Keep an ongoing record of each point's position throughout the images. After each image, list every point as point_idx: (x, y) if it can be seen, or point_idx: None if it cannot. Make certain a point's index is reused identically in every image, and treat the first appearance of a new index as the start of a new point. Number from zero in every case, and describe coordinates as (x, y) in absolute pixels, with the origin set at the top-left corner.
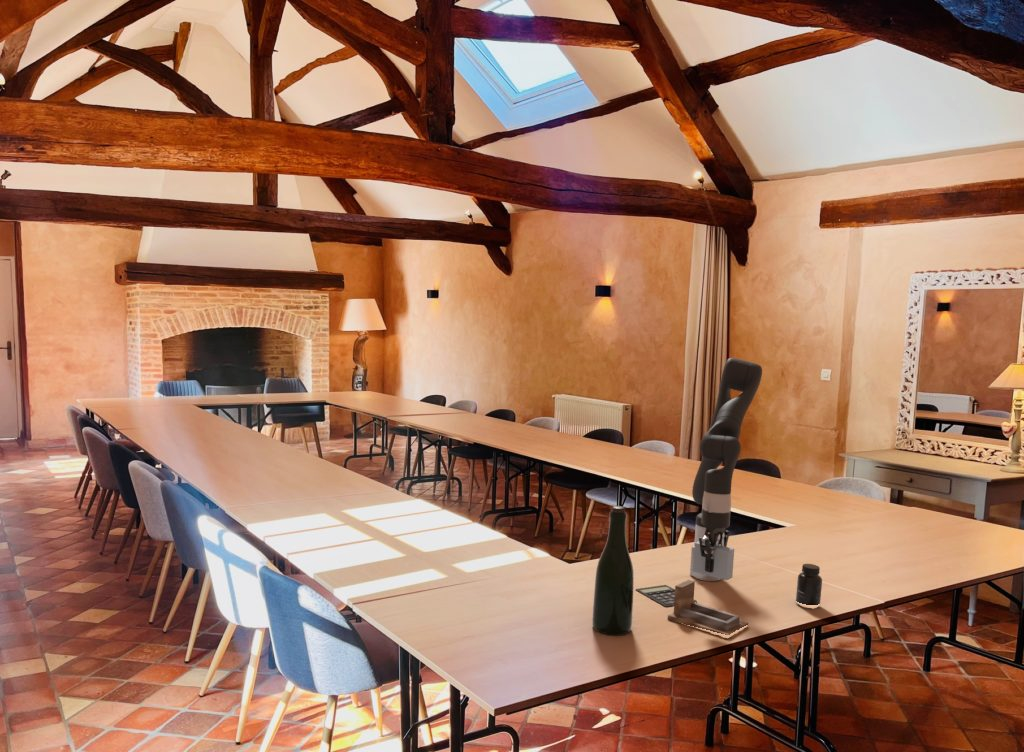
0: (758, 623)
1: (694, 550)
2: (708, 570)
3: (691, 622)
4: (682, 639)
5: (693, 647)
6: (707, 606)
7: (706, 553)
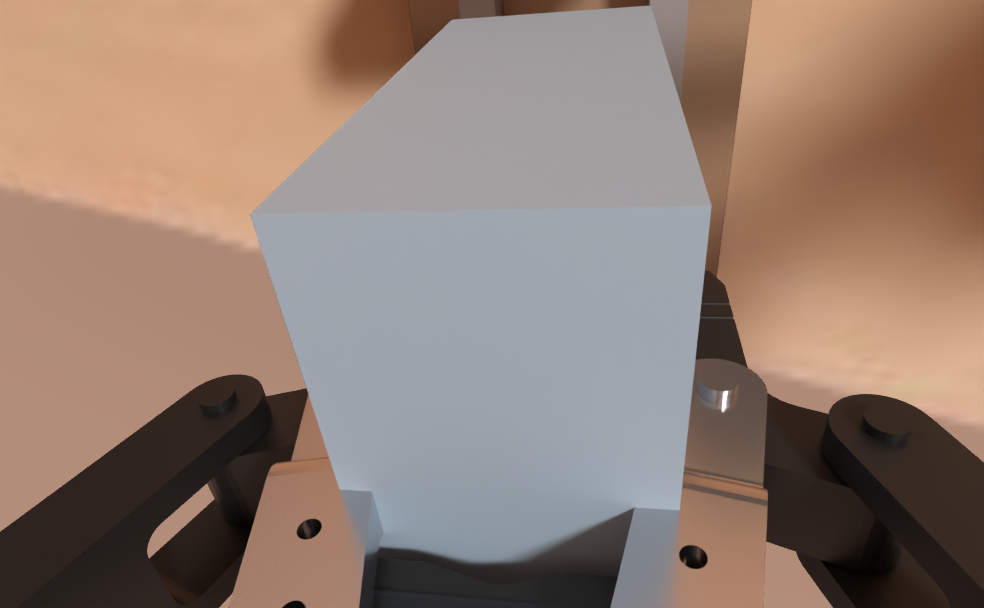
0: (823, 288)
1: (344, 135)
2: None
3: (420, 38)
4: (230, 105)
5: (214, 199)
6: (684, 28)
7: (217, 496)
